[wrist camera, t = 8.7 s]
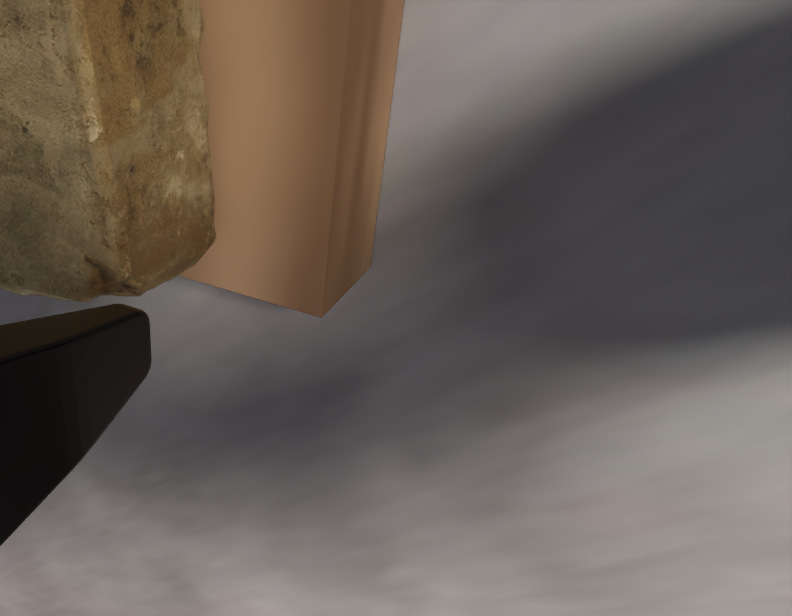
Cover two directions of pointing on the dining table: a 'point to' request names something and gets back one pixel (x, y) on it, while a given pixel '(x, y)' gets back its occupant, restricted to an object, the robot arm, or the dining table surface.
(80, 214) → the stone block
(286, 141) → the plinth
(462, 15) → the dining table surface
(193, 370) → the dining table surface
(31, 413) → the robot arm
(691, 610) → the dining table surface
